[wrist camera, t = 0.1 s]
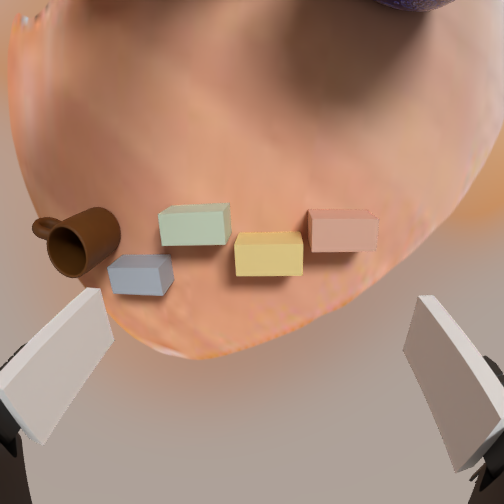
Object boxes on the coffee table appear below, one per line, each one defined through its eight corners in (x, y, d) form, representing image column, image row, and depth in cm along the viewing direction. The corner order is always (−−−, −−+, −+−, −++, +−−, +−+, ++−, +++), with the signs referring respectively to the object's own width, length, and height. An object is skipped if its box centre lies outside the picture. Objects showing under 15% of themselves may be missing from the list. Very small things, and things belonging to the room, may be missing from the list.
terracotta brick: (307, 238, 39) (311, 252, 34) (307, 209, 38) (312, 218, 33) (365, 238, 38) (376, 251, 34) (367, 209, 37) (379, 219, 32)
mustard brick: (240, 260, 41) (236, 276, 36) (239, 232, 39) (234, 245, 35) (299, 259, 40) (302, 275, 35) (300, 231, 39) (303, 244, 34)
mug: (60, 230, 41) (23, 250, 33) (67, 188, 39) (28, 201, 30) (116, 261, 42) (84, 289, 34) (128, 217, 40) (93, 238, 31)
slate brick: (127, 278, 43) (113, 293, 39) (122, 254, 42) (106, 267, 37) (174, 279, 43) (163, 295, 38) (170, 254, 41) (158, 268, 37)
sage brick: (174, 233, 40) (162, 245, 36) (171, 205, 39) (157, 214, 34) (231, 232, 39) (225, 244, 35) (229, 202, 38) (223, 211, 33)
